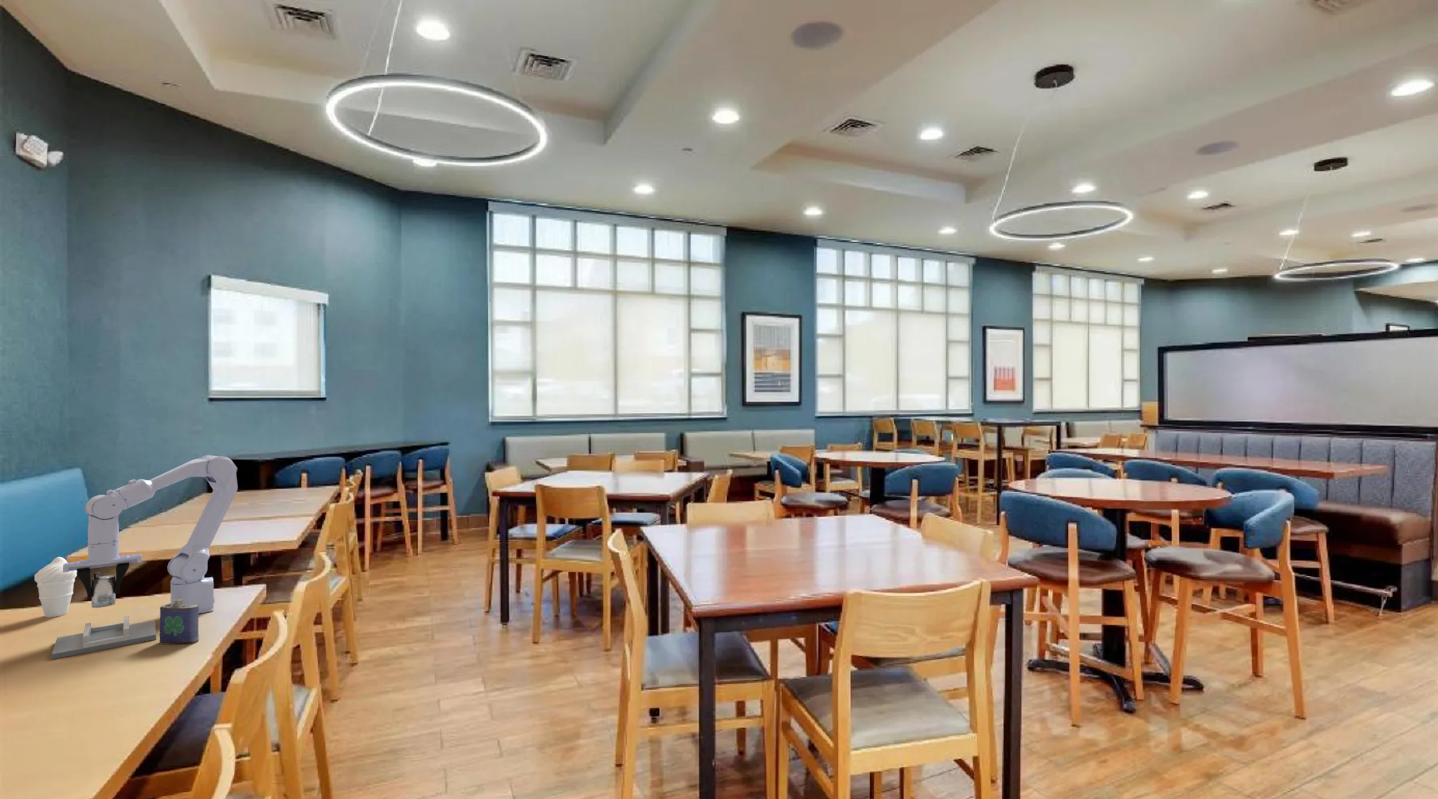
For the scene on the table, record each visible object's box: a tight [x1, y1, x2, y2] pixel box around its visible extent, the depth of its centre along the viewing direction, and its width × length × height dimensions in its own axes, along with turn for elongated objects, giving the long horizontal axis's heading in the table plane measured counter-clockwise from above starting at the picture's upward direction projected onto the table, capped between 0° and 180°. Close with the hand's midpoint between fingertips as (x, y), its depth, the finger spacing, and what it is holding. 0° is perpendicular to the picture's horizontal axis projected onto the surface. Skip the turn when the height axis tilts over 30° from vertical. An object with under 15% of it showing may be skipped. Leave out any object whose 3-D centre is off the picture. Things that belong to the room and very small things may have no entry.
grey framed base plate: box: [51, 616, 157, 660], centre depth 158 cm, size 18×14×4 cm
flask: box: [159, 598, 200, 645], centre depth 157 cm, size 9×3×11 cm, turn 88°
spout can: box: [91, 571, 116, 609], centre depth 164 cm, size 4×4×8 cm
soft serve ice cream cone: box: [34, 556, 78, 618], centre depth 177 cm, size 8×8×16 cm
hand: (103, 595), depth 164 cm, fingers closed on spout can, 4 cm apart
